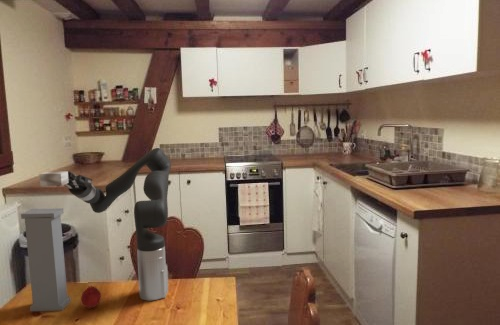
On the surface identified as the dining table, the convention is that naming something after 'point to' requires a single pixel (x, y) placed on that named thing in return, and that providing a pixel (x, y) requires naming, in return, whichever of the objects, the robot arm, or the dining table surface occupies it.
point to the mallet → (54, 178)
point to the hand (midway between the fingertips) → (63, 174)
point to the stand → (46, 259)
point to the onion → (90, 297)
